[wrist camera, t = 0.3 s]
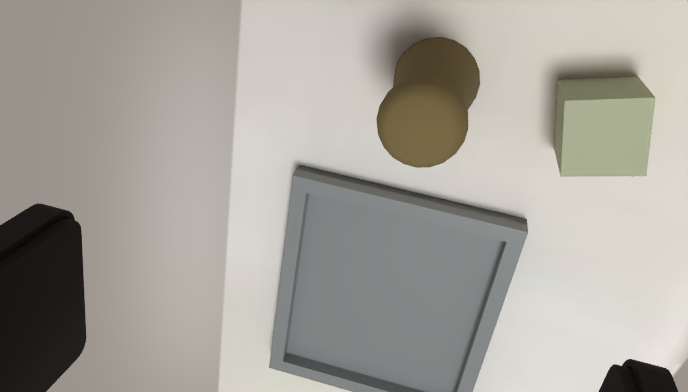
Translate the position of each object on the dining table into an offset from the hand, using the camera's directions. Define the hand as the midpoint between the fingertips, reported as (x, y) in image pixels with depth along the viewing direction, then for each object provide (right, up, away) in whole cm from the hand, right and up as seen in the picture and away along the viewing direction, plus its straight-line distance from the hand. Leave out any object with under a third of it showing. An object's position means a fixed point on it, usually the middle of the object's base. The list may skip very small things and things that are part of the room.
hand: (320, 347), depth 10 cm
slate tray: (+4, -6, +41) cm, 41 cm away
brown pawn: (+7, +11, +32) cm, 35 cm away
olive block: (+18, +8, +31) cm, 36 cm away
